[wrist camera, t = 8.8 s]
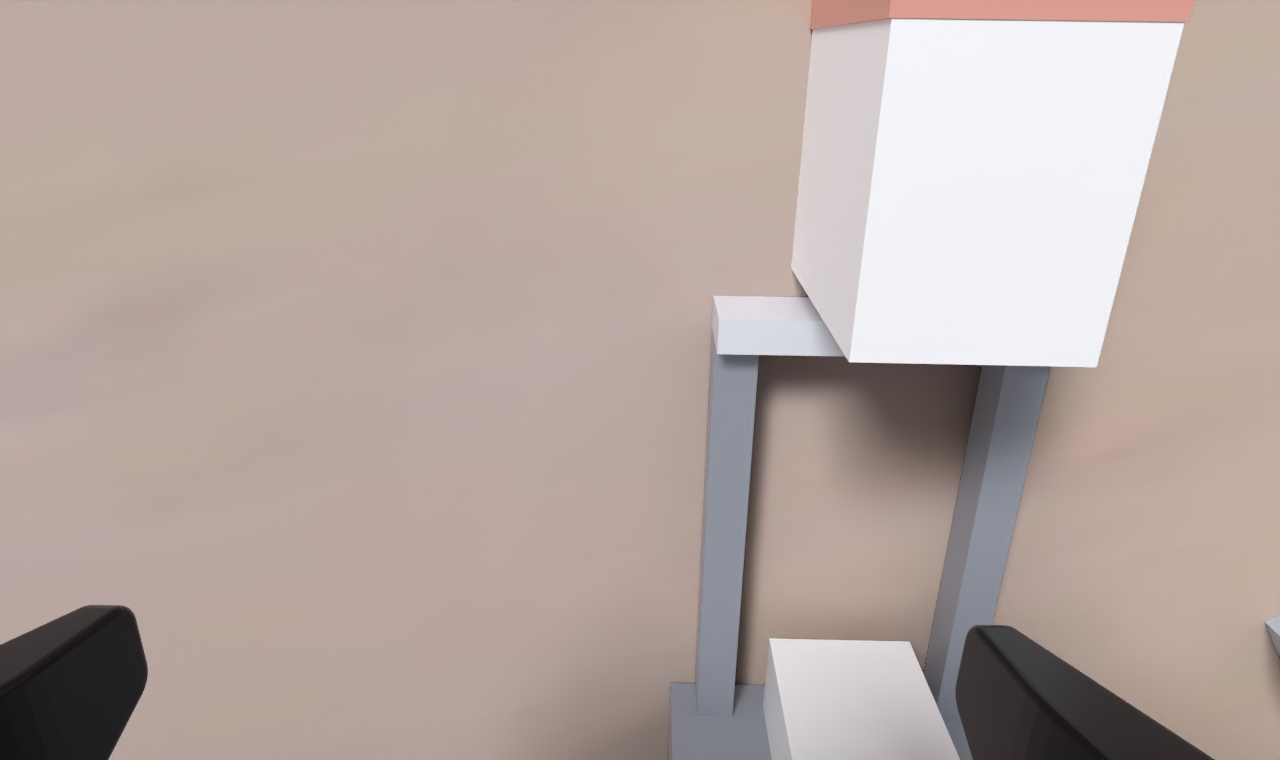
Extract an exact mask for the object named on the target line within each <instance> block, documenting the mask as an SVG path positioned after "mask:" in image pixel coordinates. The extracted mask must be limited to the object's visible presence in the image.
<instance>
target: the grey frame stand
mask: <svg viewBox="0 0 1280 760" xmlns="http://www.w3.org/2000/svg"><path fill="white" fill-rule="evenodd" d="M759 355H789V356H845V355H844V353H843V352H842V350H841V348H840V347H839V345H838V344H837V342H836V340H835V339H834V337H833V335H832V334H831V332H830V331H829V329H828V327H827V326H826V324H825V323H824V321H823V319H822V318H821V316H820V314H819V313H818V311H817V310H816V308H815V306H814V305H813V303H812V301H811V300H810V298H809V297H760V296H713V317H712V337H711V358H710V379H709V399H708V420H707V440H706V461H705V482H704V502H703V523H702V543H701V564H700V585H699V605H698V626H697V646H696V667H695V684H690V683H671V693H670V723H669V753H668V760H973V759H972V756H971V753H970V749H969V746H968V743H967V739H966V736H965V733H964V729H963V726H962V723H961V719H960V716H959V713H958V709H957V705H956V697H955V687H956V681H957V676H958V671H959V667H960V662H961V657H962V652H963V647H964V643H965V638H966V635H967V632H968V631H969V629H970V628H972V627H973V626H975V625H992V623H993V618H994V614H995V609H996V605H997V601H998V596H999V592H1000V587H1001V583H1002V578H1003V574H1004V570H1005V565H1006V561H1007V556H1008V552H1009V548H1010V543H1011V539H1012V534H1013V530H1014V525H1015V521H1016V517H1017V512H1018V508H1019V503H1020V499H1021V494H1022V490H1023V486H1024V481H1025V477H1026V472H1027V468H1028V463H1029V459H1030V455H1031V450H1032V446H1033V441H1034V437H1035V432H1036V428H1037V424H1038V419H1039V415H1040V410H1041V406H1042V402H1043V397H1044V393H1045V388H1046V384H1047V379H1048V375H1049V371H1050V366H1008V365H982V369H981V374H980V380H979V385H978V390H977V395H976V401H975V406H974V411H973V416H972V422H971V427H970V432H969V437H968V443H967V448H966V453H965V458H964V464H963V469H962V474H961V479H960V485H959V490H958V495H957V500H956V506H955V511H954V516H953V521H952V527H951V532H950V537H949V542H948V548H947V553H946V558H945V563H944V569H943V574H942V579H941V584H940V590H939V595H938V600H937V605H936V611H935V616H934V621H933V627H932V632H931V637H930V642H929V648H928V653H927V658H926V663H925V669H924V674H923V672H922V670H921V667H920V665H919V663H918V660H917V658H916V656H915V653H914V651H913V649H912V646H911V644H910V642H904V641H860V640H815V639H771V638H769V646H768V657H767V667H766V678H765V685H735V674H736V661H737V647H738V634H739V620H740V606H741V593H742V579H743V566H744V552H745V538H746V525H747V511H748V498H749V484H750V471H751V457H752V443H753V430H754V416H755V403H756V389H757V375H758V362H759Z"/></svg>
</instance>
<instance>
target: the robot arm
mask: <svg viewBox="0 0 1280 760" xmlns="http://www.w3.org/2000/svg"><path fill="white" fill-rule="evenodd" d="M147 675H148V668H147V662H146V658H145V654H144V650H143V646H142V642H141V638H140V634H139V630H138V626H137V622H136V618H135V615H134V613H133V612H132V611H131V610H130V609H129V608H127V607H125V606H120V605H89V606H84V607H82V608H79V609H77V610H75V611H73V612H71V613H68V614H66V615H64V616H62V617H60V618H58V619H55V620H53V621H51V622H49V623H47V624H45V625H43V626H40V627H38V628H36V629H34V630H32V631H30V632H27V633H25V634H23V635H21V636H19V637H17V638H14V639H12V640H10V641H8V642H6V643H4V644H1V645H0V760H108V759H109V757H110V755H111V753H112V752H113V750H114V748H115V746H116V744H117V742H118V740H119V738H120V736H121V734H122V732H123V730H124V728H125V726H126V724H127V722H128V720H129V718H130V717H131V715H132V713H133V711H134V709H135V707H136V705H137V703H138V701H139V699H140V697H141V695H142V693H143V691H144V688H145V685H146V682H147ZM955 697H956V705H957V709H958V713H959V716H960V719H961V723H962V726H963V729H964V733H965V736H966V739H967V743H968V746H969V749H970V753H971V756H972V759H973V760H1215V759H1213V758H1211V757H1210V756H1208V755H1207V754H1205V753H1204V752H1202V751H1201V750H1199V749H1198V748H1196V747H1195V746H1193V745H1192V744H1190V743H1189V742H1187V741H1185V740H1184V739H1182V738H1181V737H1179V736H1178V735H1176V734H1175V733H1173V732H1172V731H1170V730H1169V729H1167V728H1166V727H1164V726H1163V725H1161V724H1160V723H1158V722H1156V721H1155V720H1153V719H1152V718H1150V717H1149V716H1147V715H1146V714H1144V713H1143V712H1141V711H1140V710H1138V709H1137V708H1135V707H1134V706H1132V705H1130V704H1129V703H1127V702H1126V701H1124V700H1123V699H1121V698H1120V697H1118V696H1117V695H1115V694H1114V693H1112V692H1111V691H1109V690H1108V689H1106V688H1105V687H1103V686H1101V685H1100V684H1098V683H1097V682H1095V681H1094V680H1092V679H1091V678H1089V677H1088V676H1086V675H1085V674H1083V673H1082V672H1080V671H1079V670H1077V669H1075V668H1074V667H1072V666H1071V665H1069V664H1068V663H1066V662H1065V661H1063V660H1062V659H1060V658H1059V657H1057V656H1056V655H1054V654H1053V653H1051V652H1050V651H1048V650H1046V649H1045V648H1043V647H1042V646H1040V645H1039V644H1037V643H1036V642H1034V641H1033V640H1031V639H1030V638H1028V637H1027V636H1025V635H1024V634H1022V633H1020V632H1019V631H1017V630H1016V629H1014V628H1012V627H1009V626H1002V625H975V626H973V627H972V628H970V629H969V631H968V632H967V635H966V638H965V643H964V647H963V652H962V657H961V662H960V667H959V671H958V676H957V681H956V687H955Z"/></svg>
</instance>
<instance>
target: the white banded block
mask: <svg viewBox="0 0 1280 760" xmlns="http://www.w3.org/2000/svg"><path fill="white" fill-rule="evenodd" d="M1194 1H1195V0H813V2H812V13H811V24H810V29H813V31H812V42H811V53H810V64H809V75H808V87H807V98H806V109H805V120H804V131H803V142H802V154H801V165H800V176H799V187H798V198H797V209H796V221H795V232H794V243H793V254H792V265H791V269H792V271H793V272H794V274H795V276H796V277H797V279H798V280H799V282H800V284H801V285H802V287H803V289H804V290H805V292H806V293H807V295H808V297H809V298H810V300H811V301H812V303H813V305H814V306H815V308H816V310H817V311H818V313H819V314H820V316H821V318H822V319H823V321H824V323H825V324H826V326H827V327H828V329H829V331H830V332H831V334H832V335H833V337H834V339H835V340H836V342H837V344H838V345H839V347H840V348H841V350H842V352H843V353H844V355H845V357H846V358H847V360H848V361H849V362H857V363H907V364H958V365H1008V366H1058V367H1097V364H1098V360H1099V356H1100V352H1101V348H1102V344H1103V340H1104V336H1105V332H1106V328H1107V325H1108V321H1109V317H1110V313H1111V309H1112V305H1113V301H1114V297H1115V293H1116V289H1117V285H1118V281H1119V277H1120V274H1121V270H1122V266H1123V262H1124V258H1125V254H1126V250H1127V246H1128V242H1129V238H1130V234H1131V230H1132V226H1133V223H1134V219H1135V215H1136V211H1137V207H1138V203H1139V199H1140V195H1141V191H1142V187H1143V183H1144V179H1145V175H1146V172H1147V168H1148V164H1149V160H1150V156H1151V152H1152V148H1153V144H1154V140H1155V136H1156V132H1157V128H1158V124H1159V121H1160V117H1161V113H1162V109H1163V105H1164V101H1165V97H1166V93H1167V89H1168V85H1169V81H1170V77H1171V73H1172V70H1173V66H1174V62H1175V58H1176V54H1177V50H1178V46H1179V42H1180V38H1181V34H1182V30H1183V26H1184V22H1189V21H1190V17H1191V13H1192V9H1193V5H1194Z"/></svg>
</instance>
